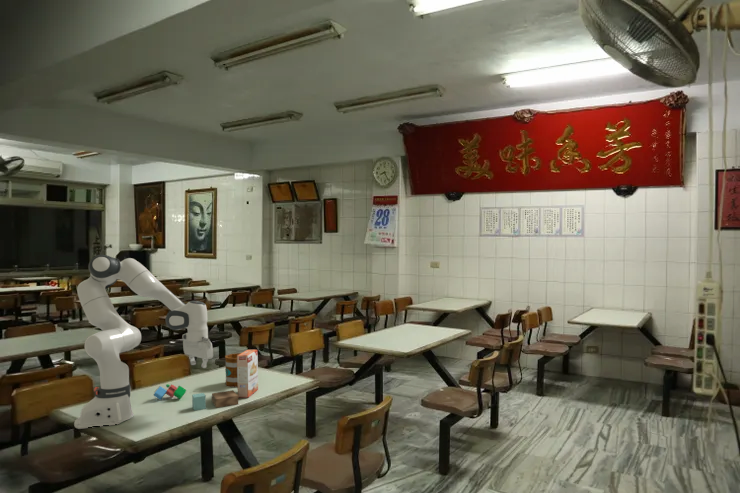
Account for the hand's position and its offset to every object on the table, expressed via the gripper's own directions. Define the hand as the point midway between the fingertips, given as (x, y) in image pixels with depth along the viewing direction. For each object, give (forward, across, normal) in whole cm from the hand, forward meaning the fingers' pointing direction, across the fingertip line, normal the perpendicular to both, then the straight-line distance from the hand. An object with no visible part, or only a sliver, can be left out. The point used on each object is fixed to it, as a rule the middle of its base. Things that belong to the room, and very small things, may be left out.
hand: (198, 366), depth 225 cm
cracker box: (+20, 0, -27) cm, 33 cm away
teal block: (+19, 0, 0) cm, 19 cm away
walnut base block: (+19, -3, -12) cm, 23 cm away
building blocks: (+19, +23, +2) cm, 30 cm away
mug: (+19, +18, -34) cm, 43 cm away
